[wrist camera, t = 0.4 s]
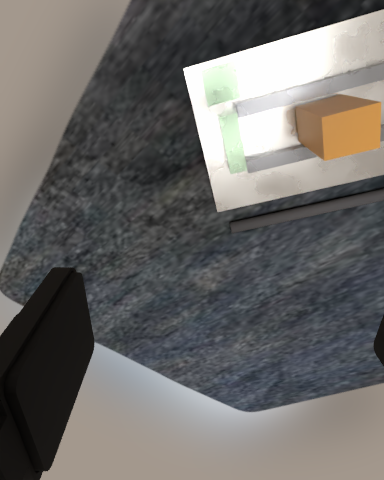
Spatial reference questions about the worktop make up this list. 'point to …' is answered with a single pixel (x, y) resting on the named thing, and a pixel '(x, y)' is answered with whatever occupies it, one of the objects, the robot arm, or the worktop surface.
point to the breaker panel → (284, 111)
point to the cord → (308, 211)
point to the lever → (339, 126)
